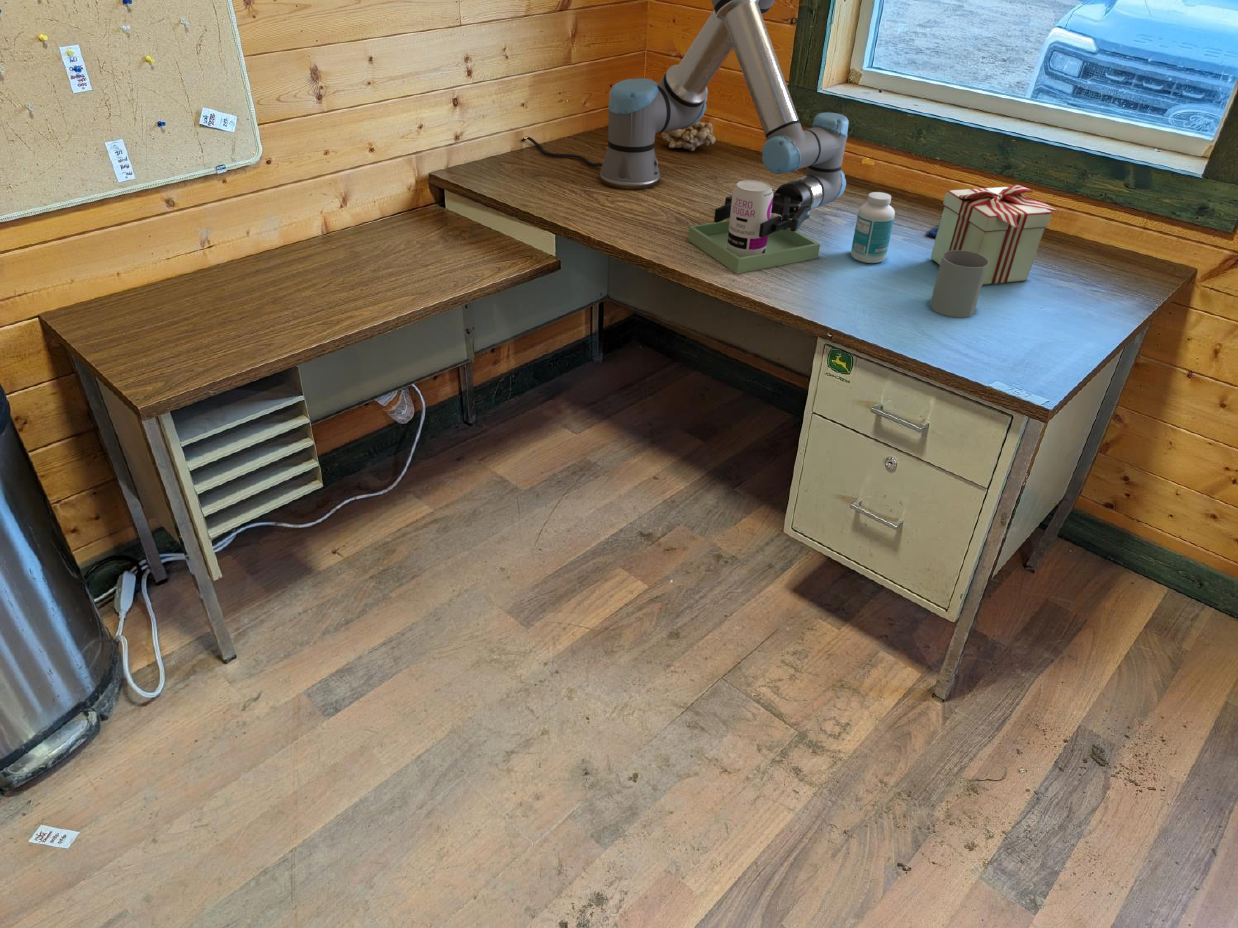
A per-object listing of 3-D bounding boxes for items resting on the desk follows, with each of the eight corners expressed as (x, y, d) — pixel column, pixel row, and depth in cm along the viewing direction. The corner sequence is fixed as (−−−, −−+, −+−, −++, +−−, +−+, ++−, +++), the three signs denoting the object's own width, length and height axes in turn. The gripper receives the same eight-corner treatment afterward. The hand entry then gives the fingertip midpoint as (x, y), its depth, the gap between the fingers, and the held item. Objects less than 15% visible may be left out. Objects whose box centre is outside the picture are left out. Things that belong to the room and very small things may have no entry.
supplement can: (764, 250, 189) (773, 180, 181) (765, 265, 183) (775, 193, 174) (726, 247, 190) (733, 177, 181) (726, 262, 183) (733, 191, 174)
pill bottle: (886, 254, 191) (900, 192, 183) (883, 267, 186) (897, 203, 178) (851, 248, 193) (864, 187, 185) (847, 261, 187) (859, 198, 180)
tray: (687, 240, 194) (689, 226, 192) (765, 226, 202) (766, 213, 200) (737, 273, 180) (738, 259, 178) (817, 258, 188) (820, 244, 186)
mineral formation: (687, 138, 258) (728, 146, 249) (657, 154, 251) (698, 163, 242) (685, 110, 253) (726, 117, 244) (654, 126, 246) (695, 134, 237)
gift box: (981, 295, 175) (1006, 211, 165) (923, 260, 189) (943, 180, 179) (1048, 285, 181) (1076, 202, 171) (987, 251, 194) (1009, 173, 184)
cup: (923, 298, 173) (935, 250, 168) (963, 298, 174) (977, 250, 168) (939, 317, 167) (953, 268, 161) (981, 317, 167) (996, 268, 162)
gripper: (840, 228, 189) (783, 257, 175) (751, 201, 201) (691, 226, 187) (846, 194, 184) (788, 220, 171) (755, 168, 196) (694, 191, 183)
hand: (738, 223), depth 179 cm, fingers open, 10 cm apart
